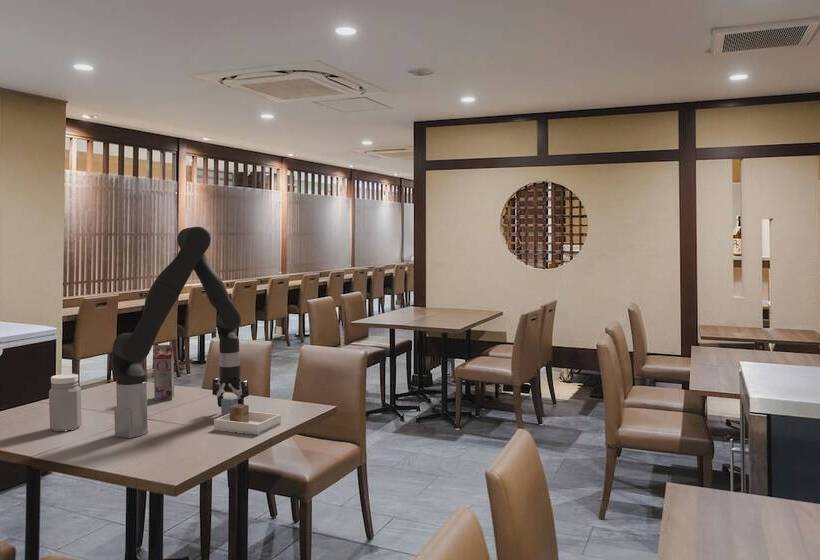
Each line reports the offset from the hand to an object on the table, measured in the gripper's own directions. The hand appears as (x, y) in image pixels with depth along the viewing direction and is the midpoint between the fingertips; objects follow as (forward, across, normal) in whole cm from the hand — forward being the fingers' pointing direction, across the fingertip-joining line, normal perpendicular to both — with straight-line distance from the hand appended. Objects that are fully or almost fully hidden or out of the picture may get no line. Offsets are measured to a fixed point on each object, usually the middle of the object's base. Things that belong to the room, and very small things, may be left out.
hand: (230, 407), depth 235 cm
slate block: (+3, 0, 0) cm, 3 cm away
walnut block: (+1, +12, -12) cm, 18 cm away
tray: (+2, +16, -12) cm, 20 cm away
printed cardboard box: (+3, -40, +11) cm, 42 cm away
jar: (+2, -41, -35) cm, 54 cm away
